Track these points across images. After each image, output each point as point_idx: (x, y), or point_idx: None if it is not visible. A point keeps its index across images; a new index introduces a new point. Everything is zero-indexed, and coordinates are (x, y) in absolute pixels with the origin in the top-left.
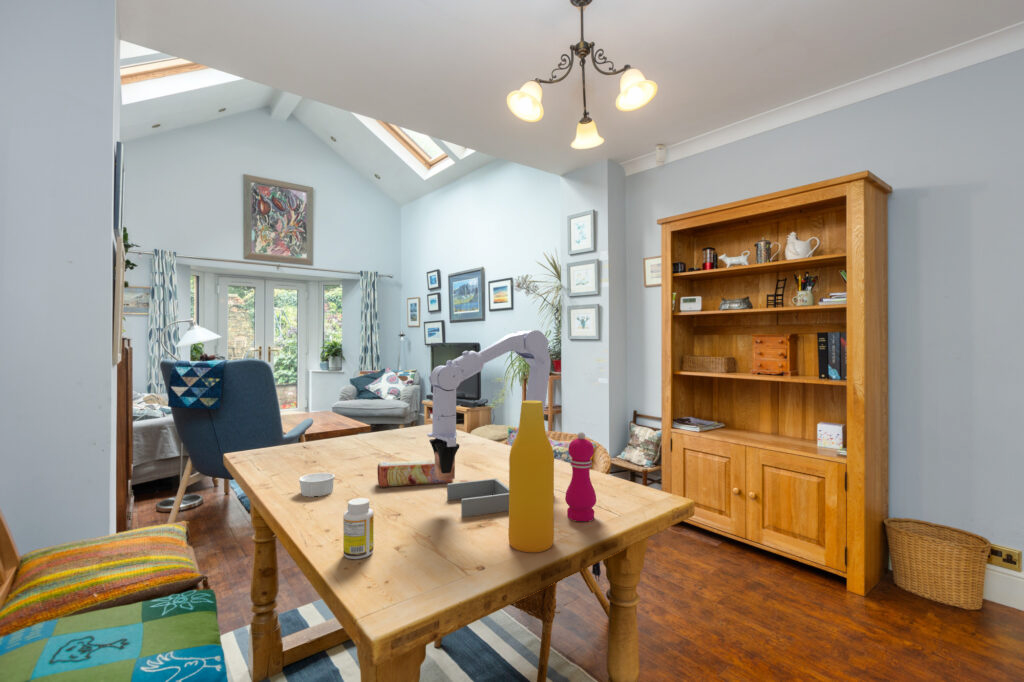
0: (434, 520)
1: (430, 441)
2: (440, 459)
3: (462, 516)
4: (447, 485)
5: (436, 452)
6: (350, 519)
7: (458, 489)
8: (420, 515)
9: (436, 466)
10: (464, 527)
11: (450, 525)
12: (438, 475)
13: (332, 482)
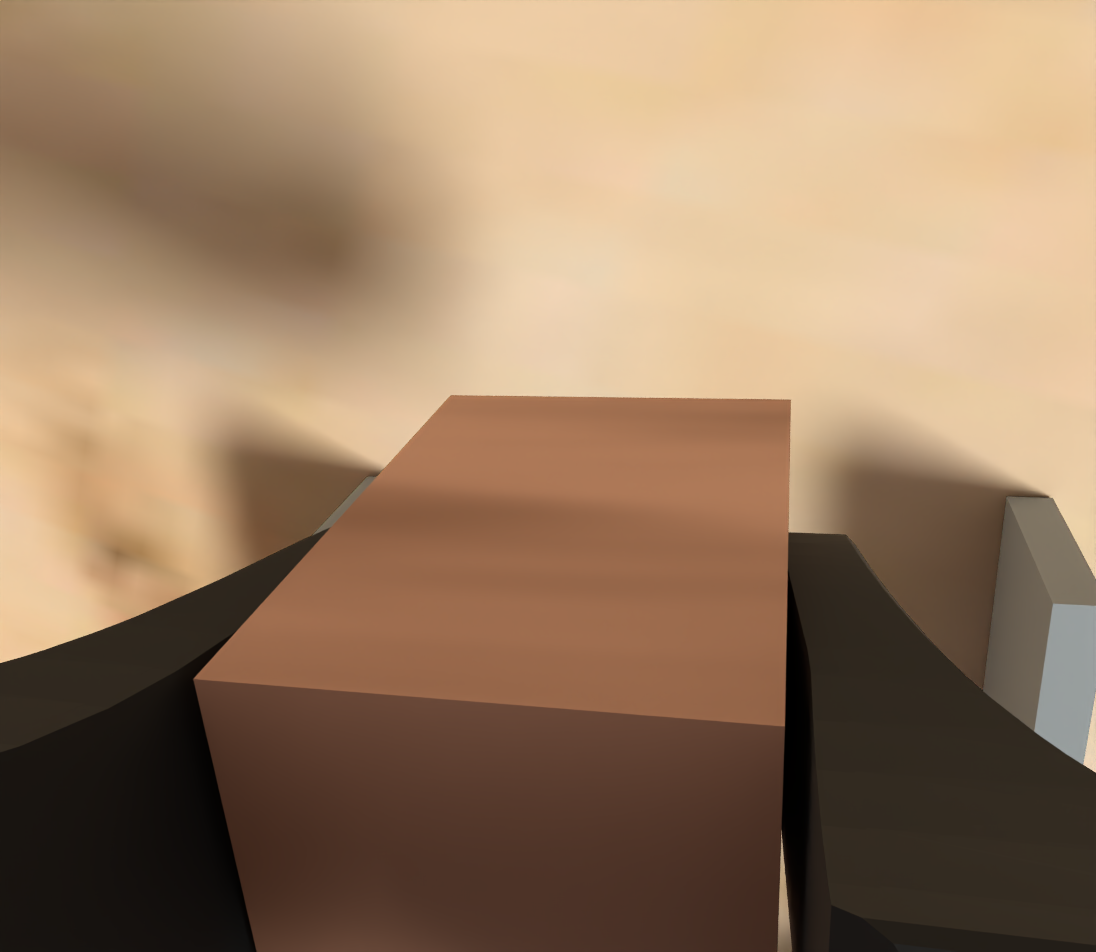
0: (345, 161)
1: (914, 936)
2: (118, 629)
3: (367, 480)
4: (1089, 592)
5: (619, 735)
6: None
7: (1012, 695)
8: (559, 11)
9: (586, 497)
10: (106, 413)
11: (173, 298)
12: (421, 428)
13: None
